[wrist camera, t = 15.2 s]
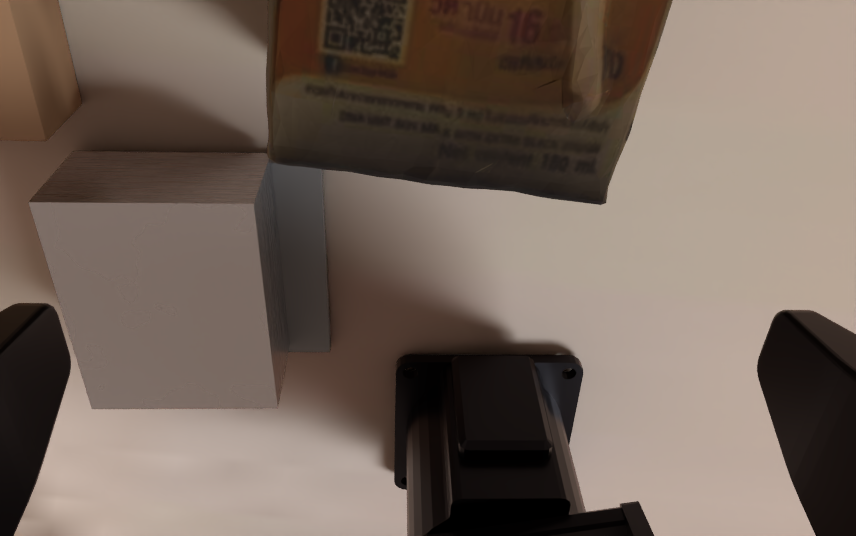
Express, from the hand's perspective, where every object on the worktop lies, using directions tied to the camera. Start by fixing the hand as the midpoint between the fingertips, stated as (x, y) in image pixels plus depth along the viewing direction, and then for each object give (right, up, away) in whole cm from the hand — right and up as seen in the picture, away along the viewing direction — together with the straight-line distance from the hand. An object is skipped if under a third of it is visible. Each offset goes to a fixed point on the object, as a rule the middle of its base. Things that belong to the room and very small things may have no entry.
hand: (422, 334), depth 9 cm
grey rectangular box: (-7, +1, +13) cm, 15 cm away
